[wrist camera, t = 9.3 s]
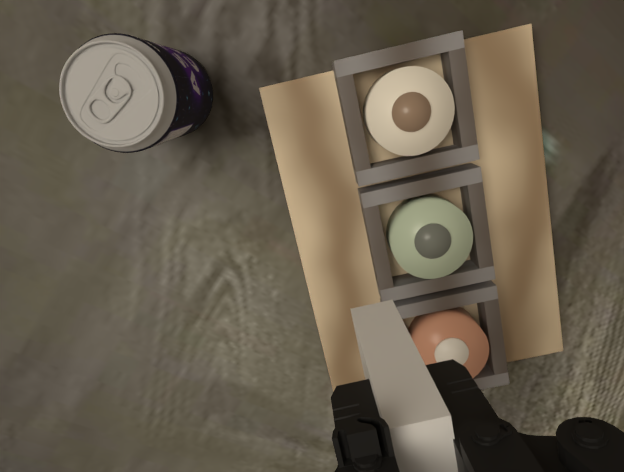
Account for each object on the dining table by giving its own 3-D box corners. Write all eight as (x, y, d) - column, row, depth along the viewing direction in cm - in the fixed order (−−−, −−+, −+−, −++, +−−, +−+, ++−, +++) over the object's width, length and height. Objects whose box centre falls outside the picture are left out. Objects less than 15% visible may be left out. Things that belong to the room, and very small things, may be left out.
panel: (334, 388, 42) (337, 418, 38) (259, 80, 35) (254, 79, 31) (551, 343, 41) (577, 370, 37) (517, 19, 34) (544, 10, 30)
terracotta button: (412, 375, 39) (420, 394, 37) (400, 312, 38) (407, 328, 35) (482, 360, 39) (494, 379, 36) (472, 297, 37) (485, 311, 35)
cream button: (371, 159, 34) (376, 165, 32) (355, 78, 33) (359, 77, 30) (449, 141, 34) (461, 145, 32) (437, 59, 33) (448, 56, 30)
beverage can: (232, 93, 35) (197, 94, 24) (178, 151, 36) (120, 179, 25) (169, 31, 34) (101, 2, 23) (116, 93, 35) (25, 95, 24)
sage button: (393, 274, 37) (400, 287, 34) (379, 203, 35) (385, 211, 33) (467, 258, 37) (479, 270, 34) (456, 185, 35) (468, 193, 33)
